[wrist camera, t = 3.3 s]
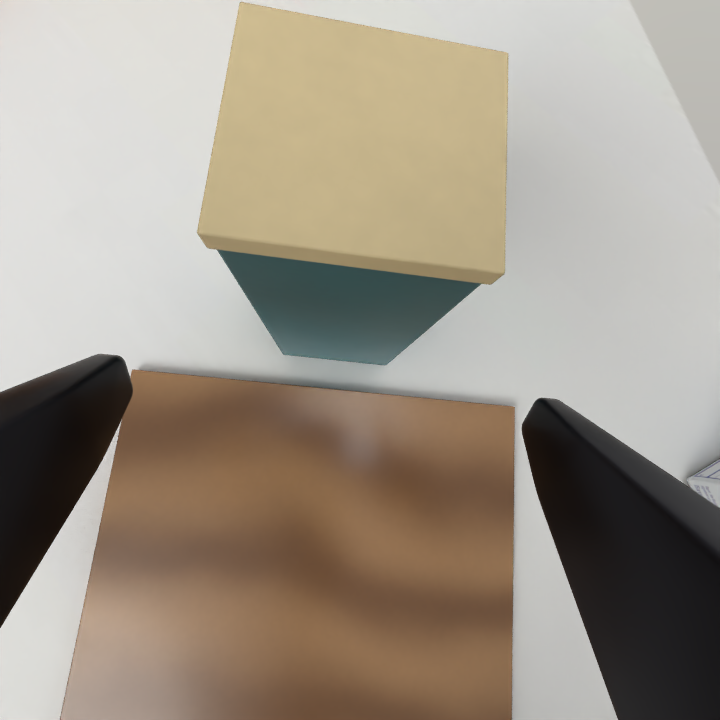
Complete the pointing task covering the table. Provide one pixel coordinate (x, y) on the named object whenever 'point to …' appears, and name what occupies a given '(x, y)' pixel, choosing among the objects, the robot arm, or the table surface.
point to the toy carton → (356, 180)
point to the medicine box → (707, 483)
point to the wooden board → (300, 558)
